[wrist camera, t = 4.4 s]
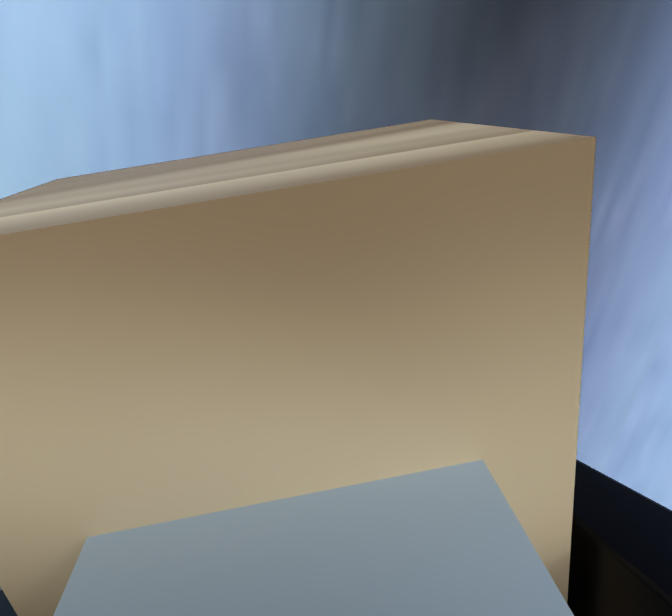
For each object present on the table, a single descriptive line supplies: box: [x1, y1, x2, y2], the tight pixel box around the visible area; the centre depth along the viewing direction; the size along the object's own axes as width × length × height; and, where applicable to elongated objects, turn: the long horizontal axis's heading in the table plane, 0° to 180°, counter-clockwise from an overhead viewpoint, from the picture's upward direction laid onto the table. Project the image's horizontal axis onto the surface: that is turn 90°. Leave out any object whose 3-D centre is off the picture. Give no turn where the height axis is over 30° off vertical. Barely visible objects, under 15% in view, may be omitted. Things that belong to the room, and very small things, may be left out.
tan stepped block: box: [0, 119, 596, 616], centre depth 8 cm, size 11×6×4 cm, turn 8°
